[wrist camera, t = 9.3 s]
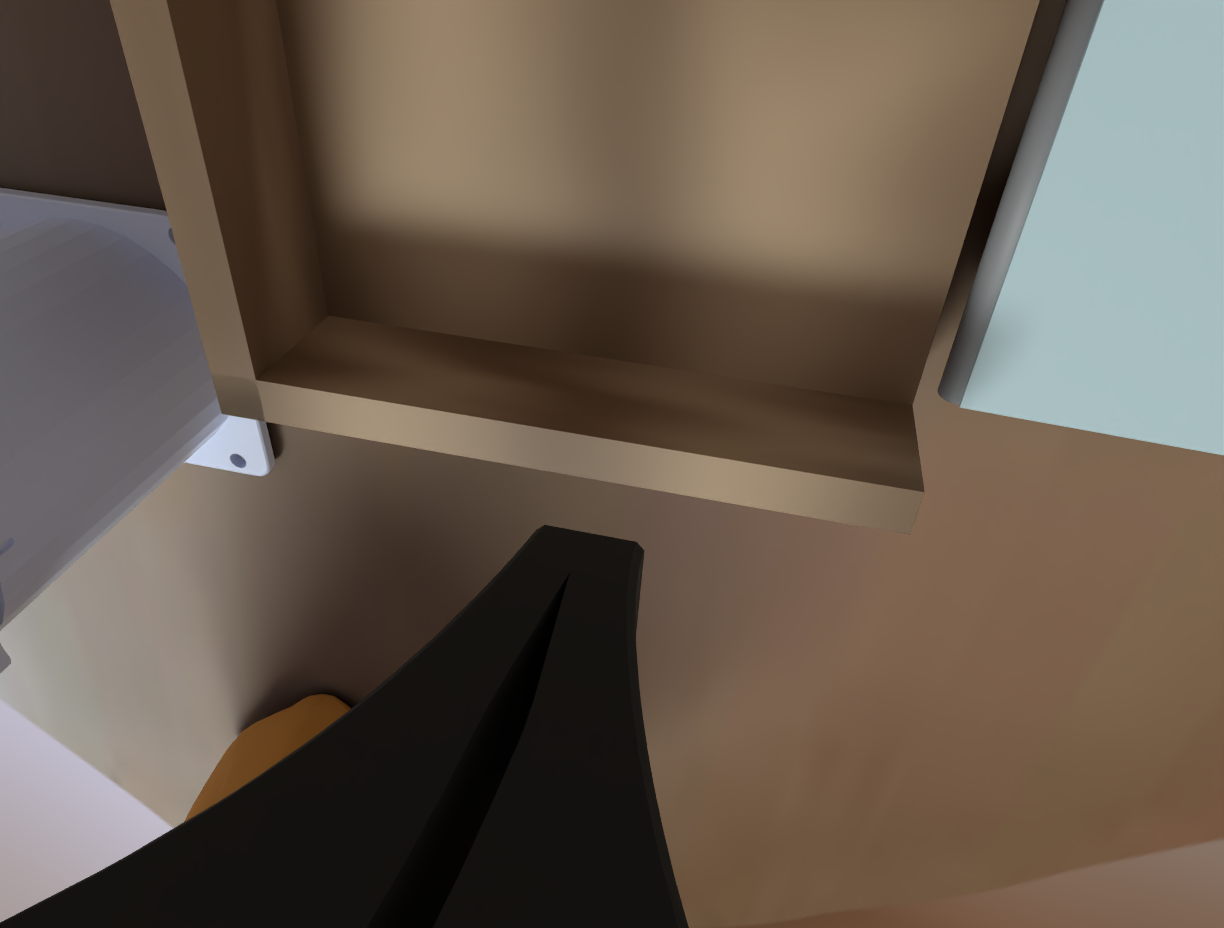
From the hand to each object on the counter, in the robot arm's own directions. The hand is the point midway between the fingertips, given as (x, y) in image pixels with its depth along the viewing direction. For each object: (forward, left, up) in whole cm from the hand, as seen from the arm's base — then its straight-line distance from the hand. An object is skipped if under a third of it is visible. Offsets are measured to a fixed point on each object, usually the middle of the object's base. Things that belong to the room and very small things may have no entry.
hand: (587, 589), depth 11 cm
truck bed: (-2, +4, -10) cm, 11 cm away
